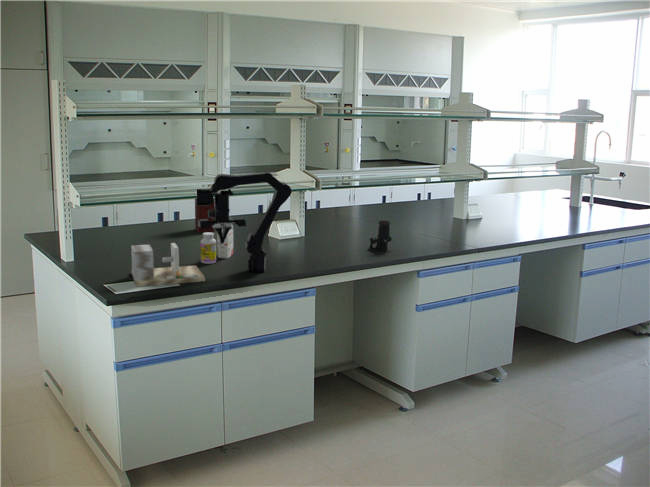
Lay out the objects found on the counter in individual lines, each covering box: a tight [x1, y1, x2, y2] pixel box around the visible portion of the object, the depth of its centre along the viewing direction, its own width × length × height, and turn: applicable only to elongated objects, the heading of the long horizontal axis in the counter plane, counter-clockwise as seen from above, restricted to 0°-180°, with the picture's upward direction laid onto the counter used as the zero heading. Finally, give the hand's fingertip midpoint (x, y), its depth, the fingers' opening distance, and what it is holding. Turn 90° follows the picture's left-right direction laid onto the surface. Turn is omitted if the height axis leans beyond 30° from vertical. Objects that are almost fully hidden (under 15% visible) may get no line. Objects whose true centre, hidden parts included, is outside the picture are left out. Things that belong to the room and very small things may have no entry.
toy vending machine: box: [194, 197, 216, 234], centre depth 342 cm, size 9×11×28 cm
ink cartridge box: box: [216, 224, 234, 259], centre depth 291 cm, size 9×5×15 cm, turn 170°
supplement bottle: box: [200, 232, 217, 265], centre depth 280 cm, size 7×7×13 cm
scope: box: [368, 220, 393, 252], centre depth 313 cm, size 8×14×10 cm
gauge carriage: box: [161, 242, 180, 276], centre depth 254 cm, size 6×13×11 cm, turn 22°
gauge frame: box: [130, 244, 206, 287], centre depth 256 cm, size 26×19×12 cm
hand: (222, 243), depth 265 cm, fingers closed
